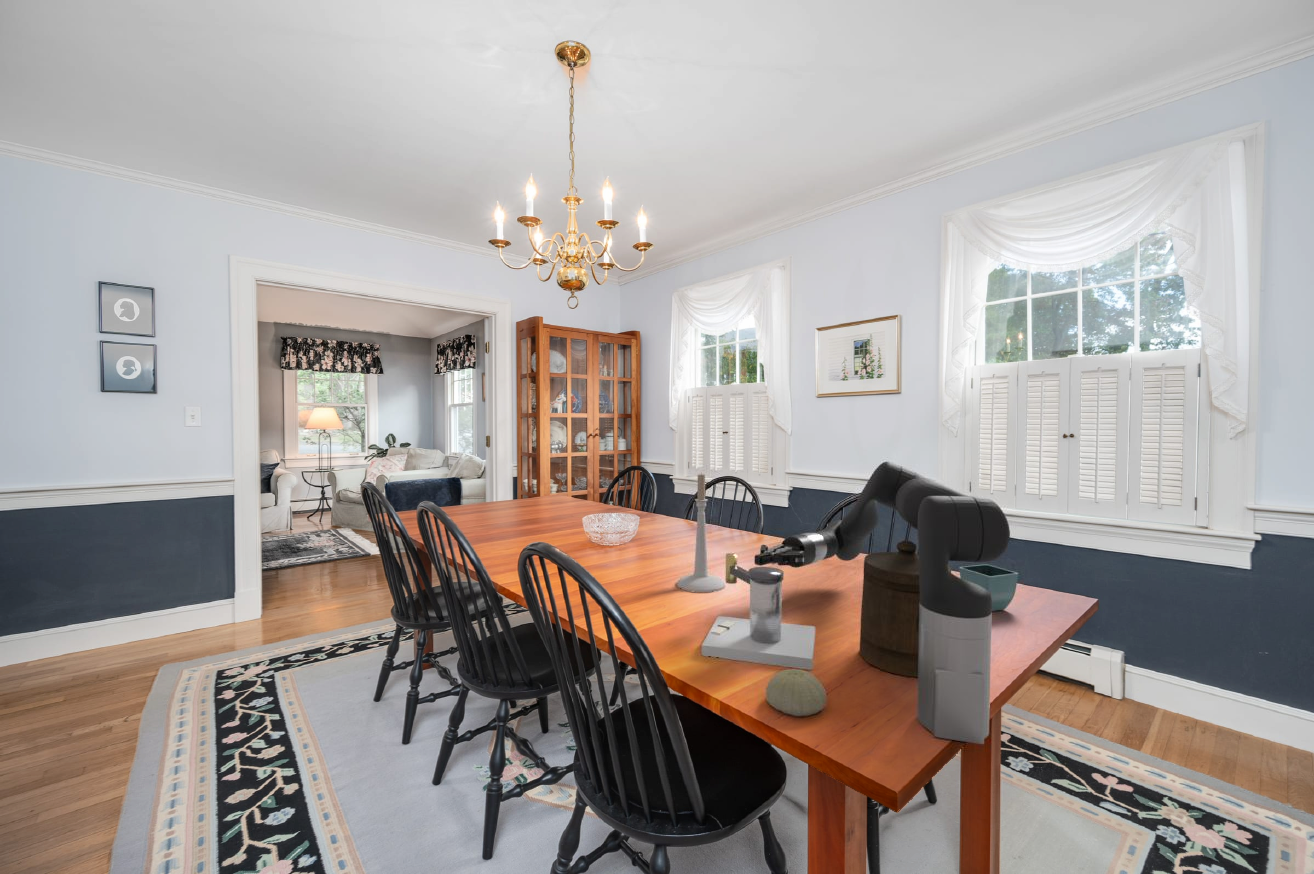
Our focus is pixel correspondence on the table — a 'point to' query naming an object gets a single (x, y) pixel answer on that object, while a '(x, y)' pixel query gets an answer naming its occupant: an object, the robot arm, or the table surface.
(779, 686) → the sea urchin shell
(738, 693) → the table surface
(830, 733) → the table surface
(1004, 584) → the flower pot
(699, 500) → the candlestick
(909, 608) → the wooden container
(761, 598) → the capstan
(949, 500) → the robot arm
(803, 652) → the stand
